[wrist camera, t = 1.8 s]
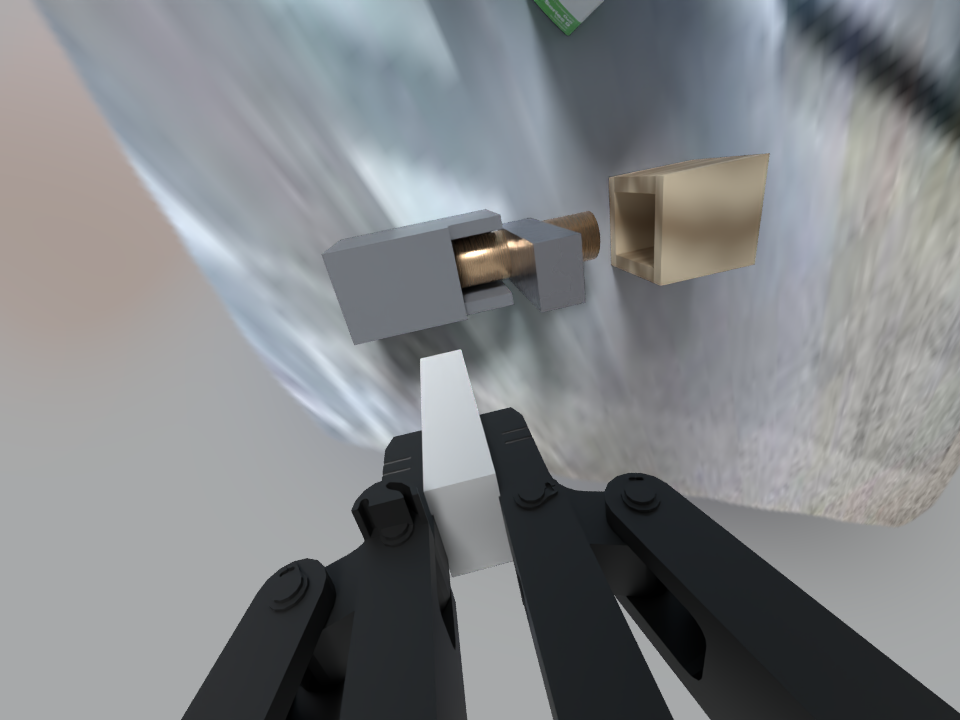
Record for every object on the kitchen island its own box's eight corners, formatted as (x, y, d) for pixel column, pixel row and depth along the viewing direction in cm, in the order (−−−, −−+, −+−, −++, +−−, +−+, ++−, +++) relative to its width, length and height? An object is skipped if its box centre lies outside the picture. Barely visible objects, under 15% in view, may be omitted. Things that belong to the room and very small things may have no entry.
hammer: (377, 250, 33) (359, 281, 22) (579, 207, 34) (651, 218, 23) (392, 299, 35) (382, 348, 24) (582, 257, 36) (650, 287, 25)
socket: (608, 177, 34) (663, 175, 27) (692, 159, 35) (769, 153, 27) (611, 265, 38) (660, 285, 30) (687, 248, 38) (754, 264, 31)
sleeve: (340, 239, 33) (321, 254, 27) (485, 209, 34) (503, 215, 27) (365, 315, 36) (354, 345, 30) (498, 285, 37) (516, 308, 30)
